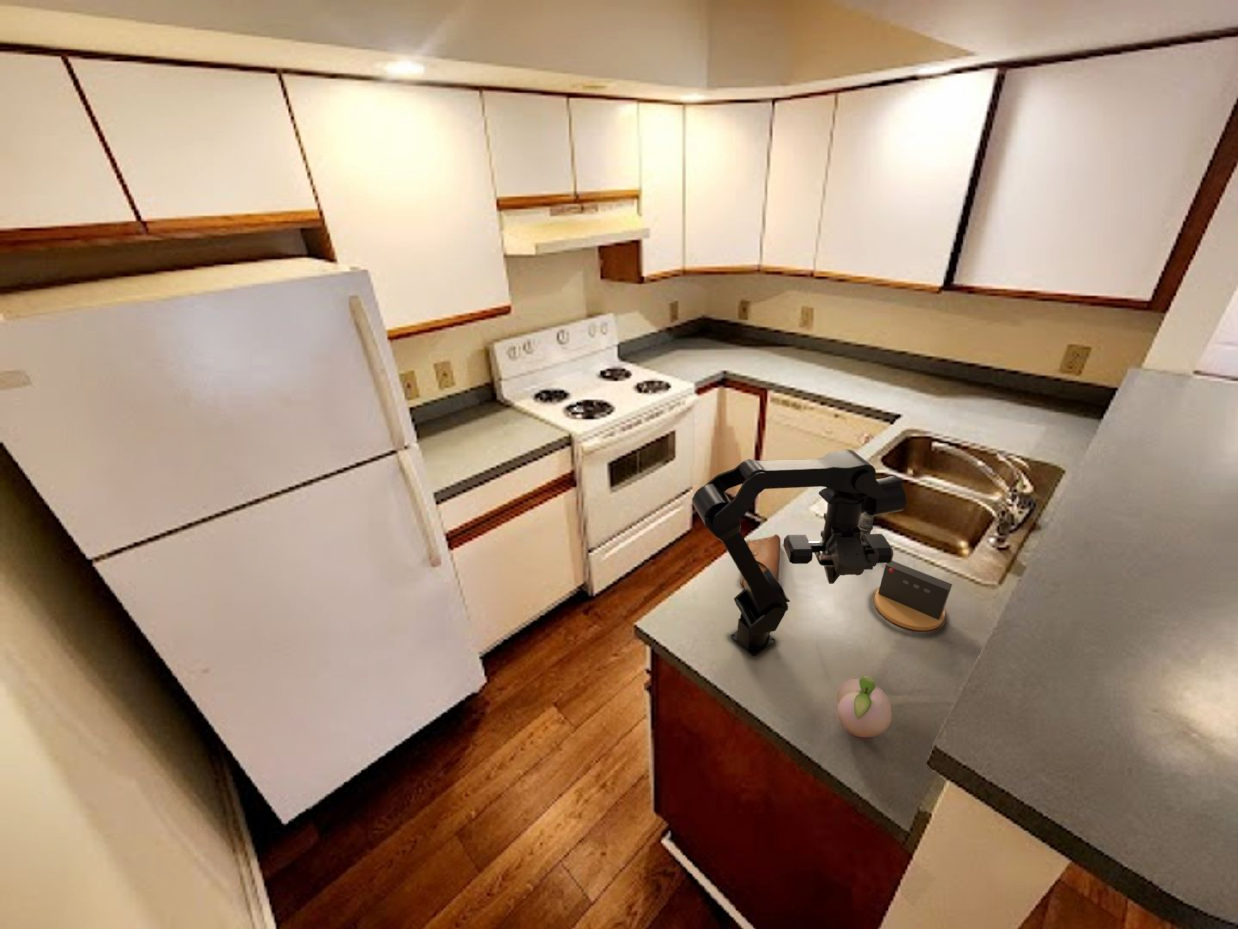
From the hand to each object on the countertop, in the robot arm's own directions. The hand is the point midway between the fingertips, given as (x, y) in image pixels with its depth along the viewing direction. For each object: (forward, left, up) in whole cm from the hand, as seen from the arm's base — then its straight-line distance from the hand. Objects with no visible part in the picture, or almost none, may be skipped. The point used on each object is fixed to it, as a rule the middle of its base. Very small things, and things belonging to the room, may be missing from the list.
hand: (830, 582), depth 105 cm
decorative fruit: (-14, -18, -12) cm, 26 cm away
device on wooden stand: (+18, -8, -11) cm, 23 cm away
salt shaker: (+28, +10, -12) cm, 32 cm away
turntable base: (+18, -8, -12) cm, 23 cm away
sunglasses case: (+5, +21, -12) cm, 25 cm away
